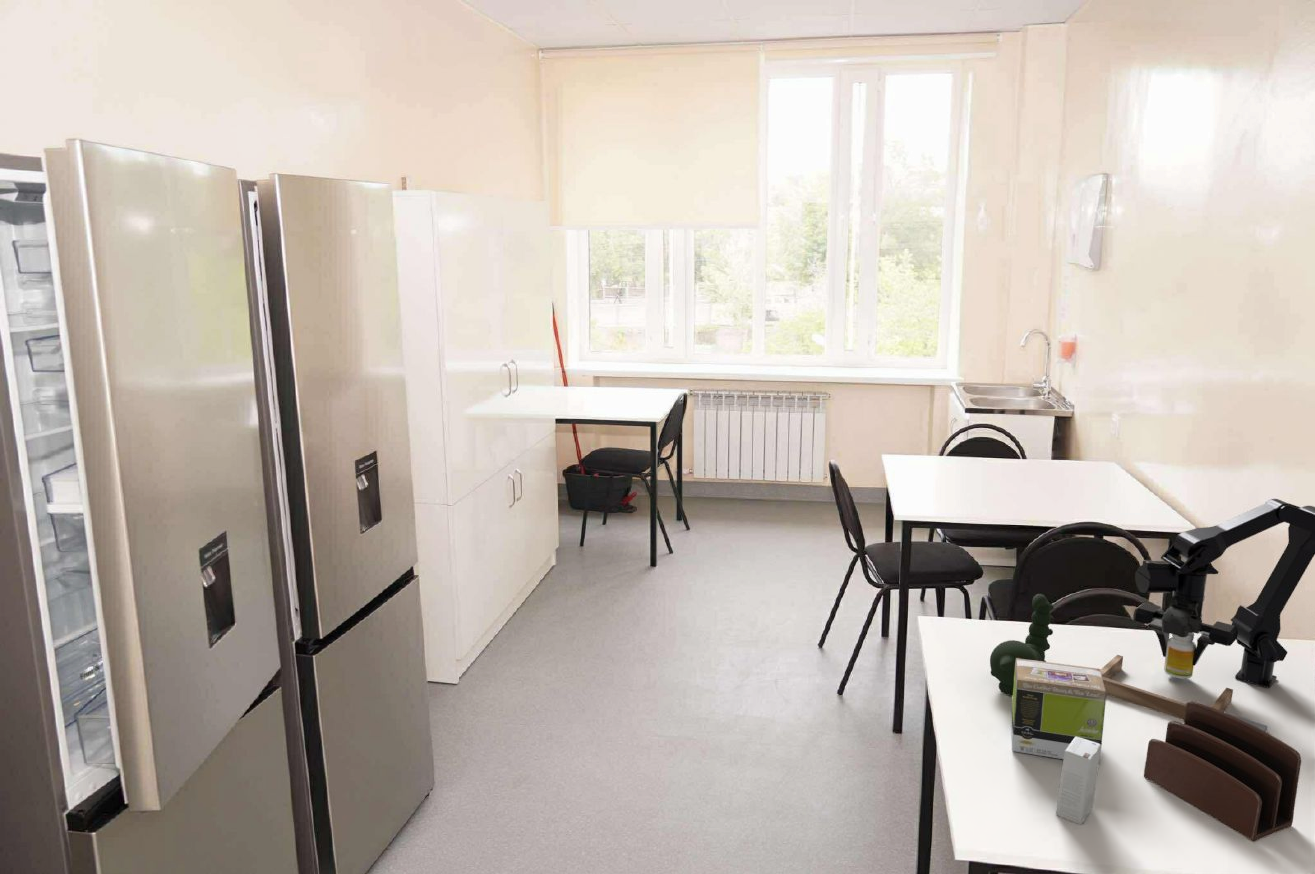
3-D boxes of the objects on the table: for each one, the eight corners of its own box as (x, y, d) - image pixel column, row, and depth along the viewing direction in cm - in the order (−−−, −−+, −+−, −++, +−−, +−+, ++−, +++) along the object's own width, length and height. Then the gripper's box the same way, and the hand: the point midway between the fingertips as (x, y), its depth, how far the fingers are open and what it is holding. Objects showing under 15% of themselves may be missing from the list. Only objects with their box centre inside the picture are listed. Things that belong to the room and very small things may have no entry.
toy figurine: (1015, 664, 209) (974, 696, 190) (1025, 584, 206) (985, 608, 187) (1059, 677, 203) (1020, 711, 184) (1070, 594, 200) (1032, 620, 181)
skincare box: (1066, 798, 157) (1073, 733, 154) (1094, 809, 154) (1102, 743, 151) (1054, 815, 152) (1061, 748, 150) (1083, 826, 149) (1091, 758, 147)
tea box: (1093, 739, 175) (1102, 667, 172) (1099, 767, 166) (1108, 691, 163) (1008, 725, 180) (1015, 655, 177) (1010, 752, 171) (1017, 678, 168)
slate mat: (1225, 717, 184) (1226, 712, 183) (1266, 730, 179) (1267, 725, 179) (1211, 735, 177) (1211, 731, 176) (1253, 750, 172) (1254, 745, 172)
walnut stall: (1115, 667, 205) (1117, 654, 204) (1231, 702, 189) (1233, 689, 189) (1091, 689, 195) (1092, 676, 194) (1210, 728, 179) (1212, 714, 179)
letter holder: (1180, 764, 167) (1190, 692, 164) (1293, 827, 150) (1306, 748, 147) (1142, 777, 163) (1151, 704, 160) (1253, 843, 146) (1266, 762, 143)
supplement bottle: (1196, 680, 196) (1202, 637, 194) (1168, 678, 197) (1174, 635, 195) (1187, 669, 201) (1192, 627, 199) (1160, 666, 202) (1165, 625, 200)
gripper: (1128, 590, 196) (1120, 658, 199) (1228, 615, 183) (1217, 688, 187) (1146, 576, 204) (1138, 642, 207) (1243, 600, 191) (1232, 670, 194)
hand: (1179, 660), depth 199 cm, fingers closed on supplement bottle, 5 cm apart
